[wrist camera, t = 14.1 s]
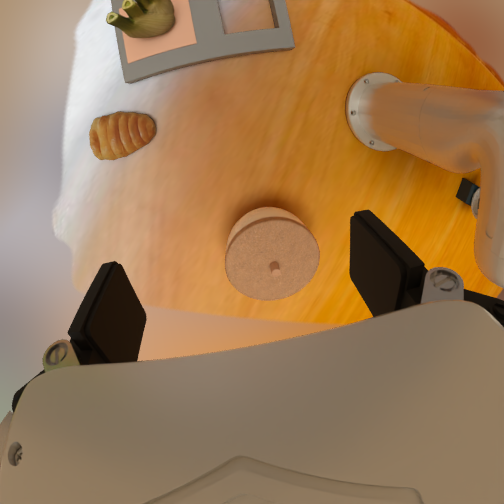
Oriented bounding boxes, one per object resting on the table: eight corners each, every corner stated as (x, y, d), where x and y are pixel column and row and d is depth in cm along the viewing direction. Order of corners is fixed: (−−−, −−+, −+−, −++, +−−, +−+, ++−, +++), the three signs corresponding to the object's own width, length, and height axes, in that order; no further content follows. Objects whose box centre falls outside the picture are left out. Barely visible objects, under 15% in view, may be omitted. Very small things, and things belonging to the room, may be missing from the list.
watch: (452, 205, 45) (487, 231, 36) (465, 169, 41) (503, 190, 32) (466, 211, 46) (499, 236, 37) (478, 178, 43) (514, 199, 33)
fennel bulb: (140, 47, 26) (106, 29, 16) (130, 19, 23) (94, -7, 13) (183, 29, 25) (167, -1, 15) (172, 1, 23) (152, -36, 13)
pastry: (153, 103, 33) (146, 104, 29) (160, 148, 36) (154, 154, 33) (93, 118, 32) (82, 122, 29) (102, 161, 36) (91, 168, 33)
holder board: (272, -30, 23) (275, -37, 21) (290, 50, 30) (295, 46, 28) (116, 3, 23) (110, -2, 21) (130, 83, 30) (124, 82, 28)
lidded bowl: (206, 230, 43) (203, 271, 34) (270, 177, 40) (287, 206, 31) (258, 278, 49) (267, 323, 40) (317, 234, 46) (341, 273, 36)
